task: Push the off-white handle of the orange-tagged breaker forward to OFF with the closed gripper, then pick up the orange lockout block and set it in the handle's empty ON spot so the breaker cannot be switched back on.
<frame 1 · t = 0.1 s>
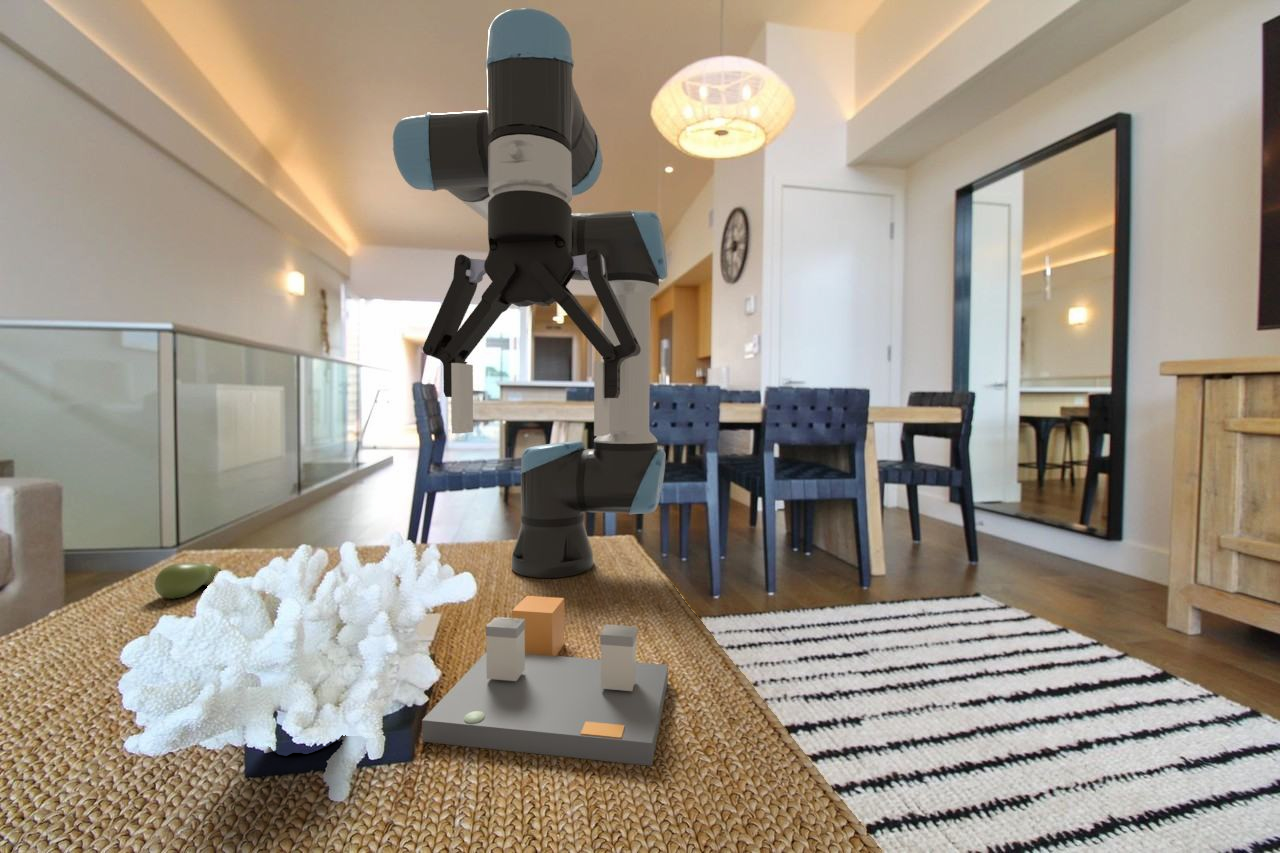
hand: (530, 434, 51), 28 cm above the table, tool pointing down, fingers open, 13 cm apart
lockout block: (539, 651, 68), on the table
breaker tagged: (618, 657, 55), point 5 cm above the table, slide at 0.0 cm
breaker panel: (557, 709, 55), on the table
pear: (191, 593, 88), on the table
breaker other: (505, 648, 57), point 5 cm above the table, slide at 0.0 cm
flower pot: (310, 739, 50), on the table
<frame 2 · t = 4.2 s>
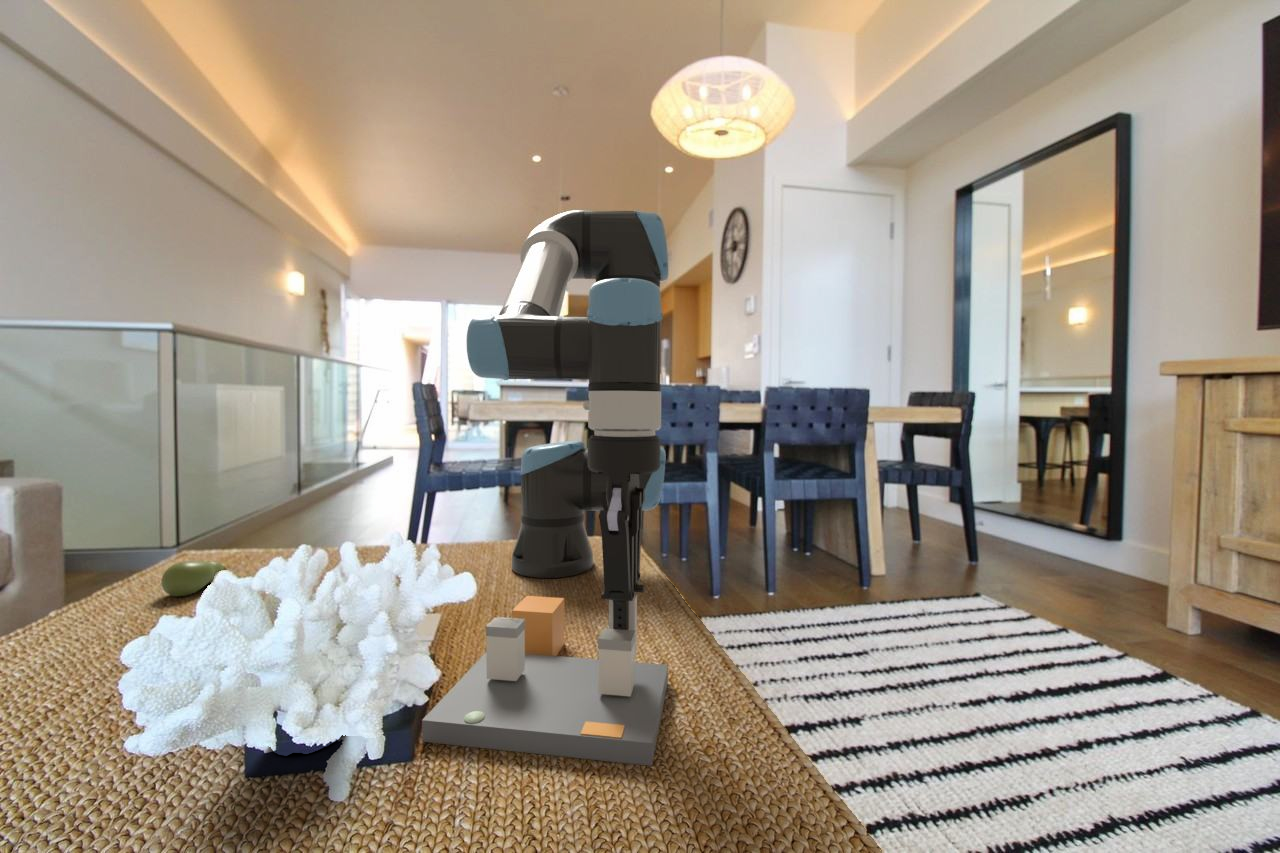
hand: (622, 657, 57), 4 cm above the table, tool pointing down, fingers closed
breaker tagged: (616, 661, 54), point 5 cm above the table, slide at 1.0 cm, touching gripper
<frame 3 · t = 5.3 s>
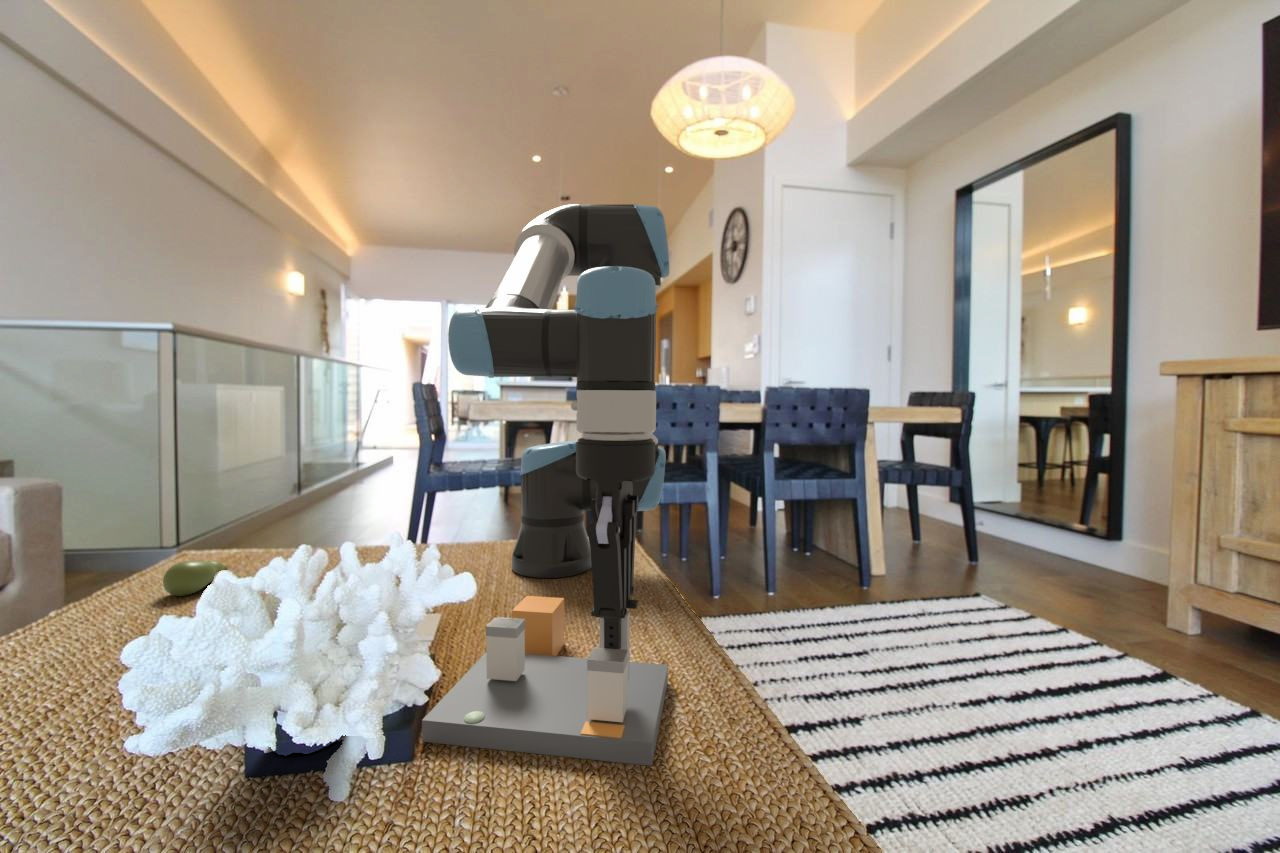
hand: (614, 678, 53), 4 cm above the table, tool pointing down, fingers closed
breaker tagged: (607, 683, 50), point 5 cm above the table, slide at 5.3 cm, touching gripper
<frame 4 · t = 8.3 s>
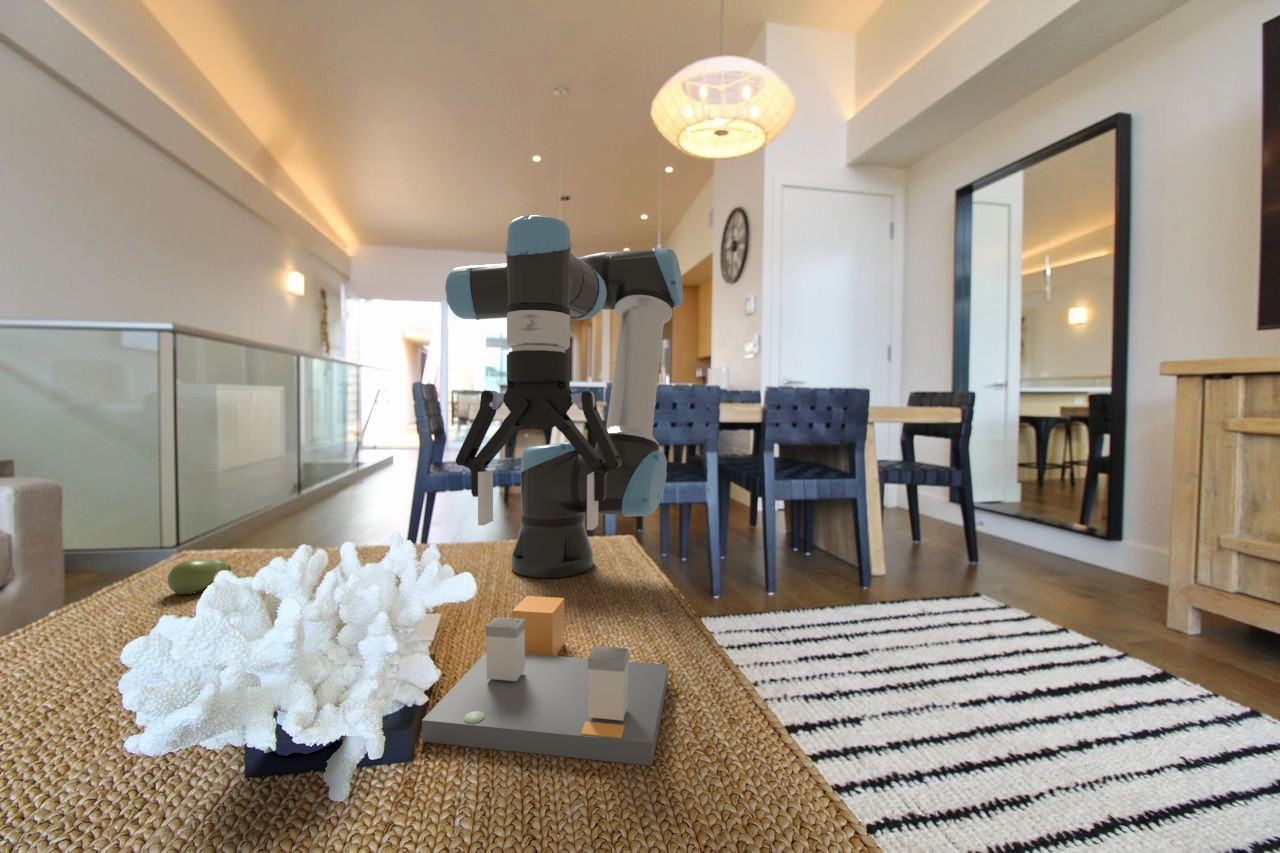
hand: (538, 525, 67), 16 cm above the table, tool pointing down, fingers open, 13 cm apart
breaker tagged: (608, 682, 50), point 5 cm above the table, slide at 5.1 cm
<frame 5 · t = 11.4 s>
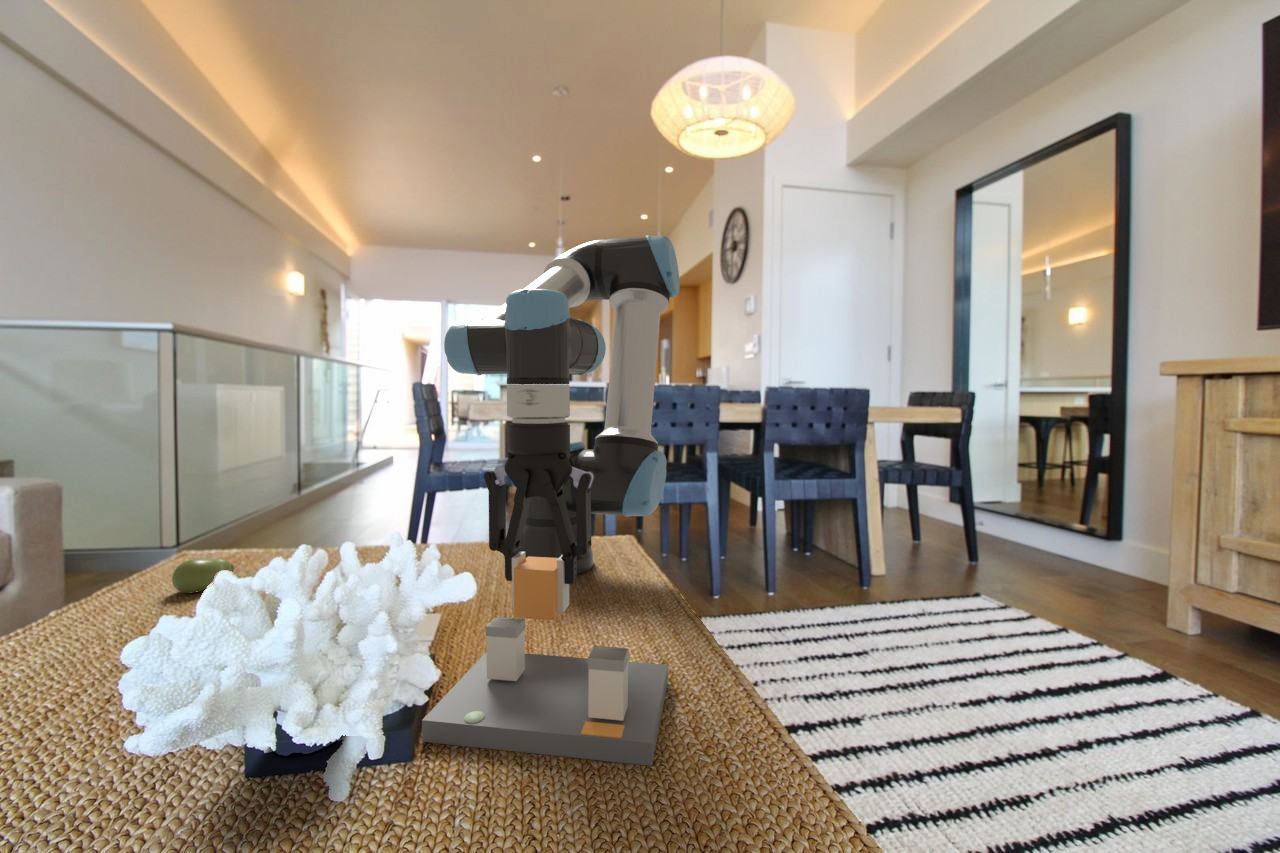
hand: (541, 606, 68), 5 cm above the table, tool pointing down, fingers closed on lockout block, 5 cm apart
lockout block: (540, 610, 68), point 5 cm above the table, touching gripper
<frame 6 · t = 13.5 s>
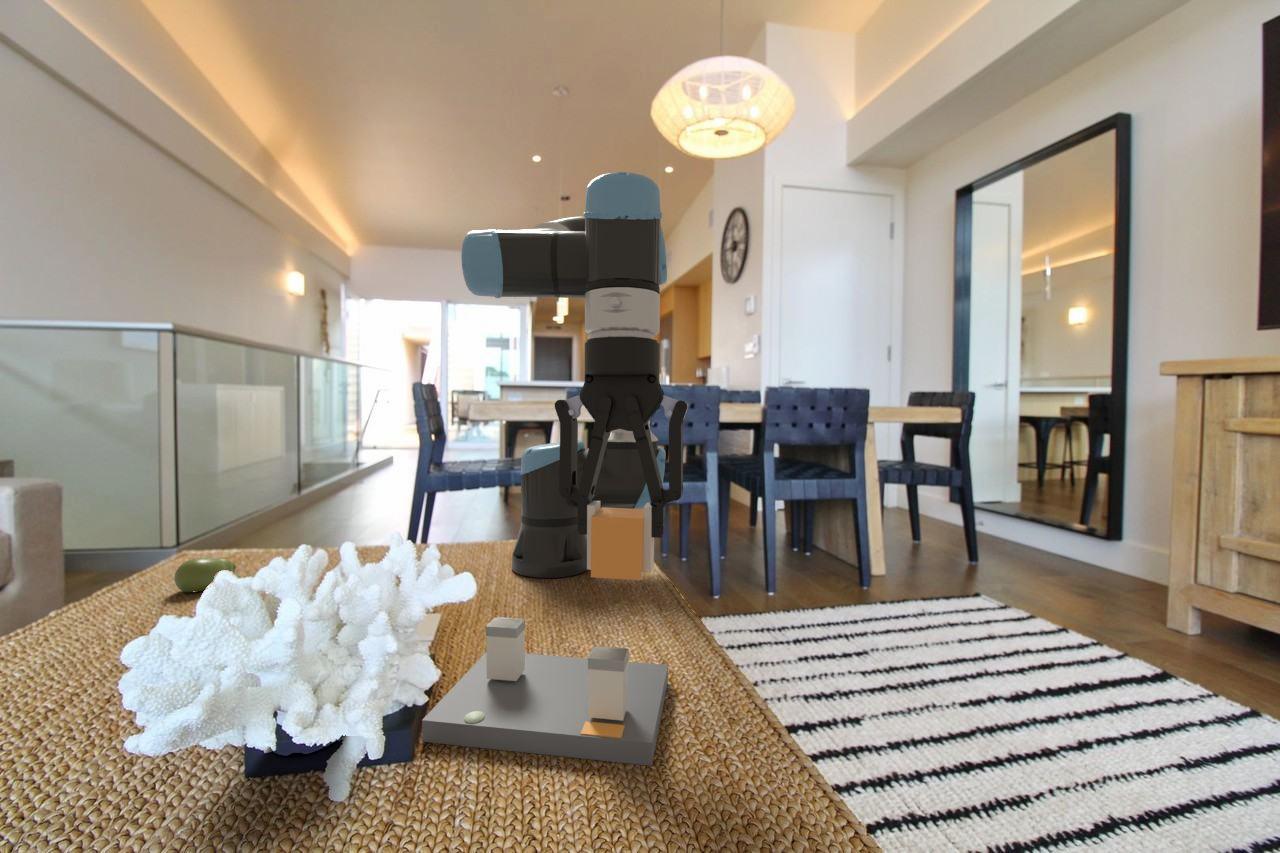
hand: (620, 566, 56), 14 cm above the table, tool pointing down, fingers closed on lockout block, 5 cm apart
lockout block: (620, 571, 56), point 14 cm above the table, touching gripper
when the fingers open (2 cm above the table, at t = 15.8 s): lockout block stays where it is, resting on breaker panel.
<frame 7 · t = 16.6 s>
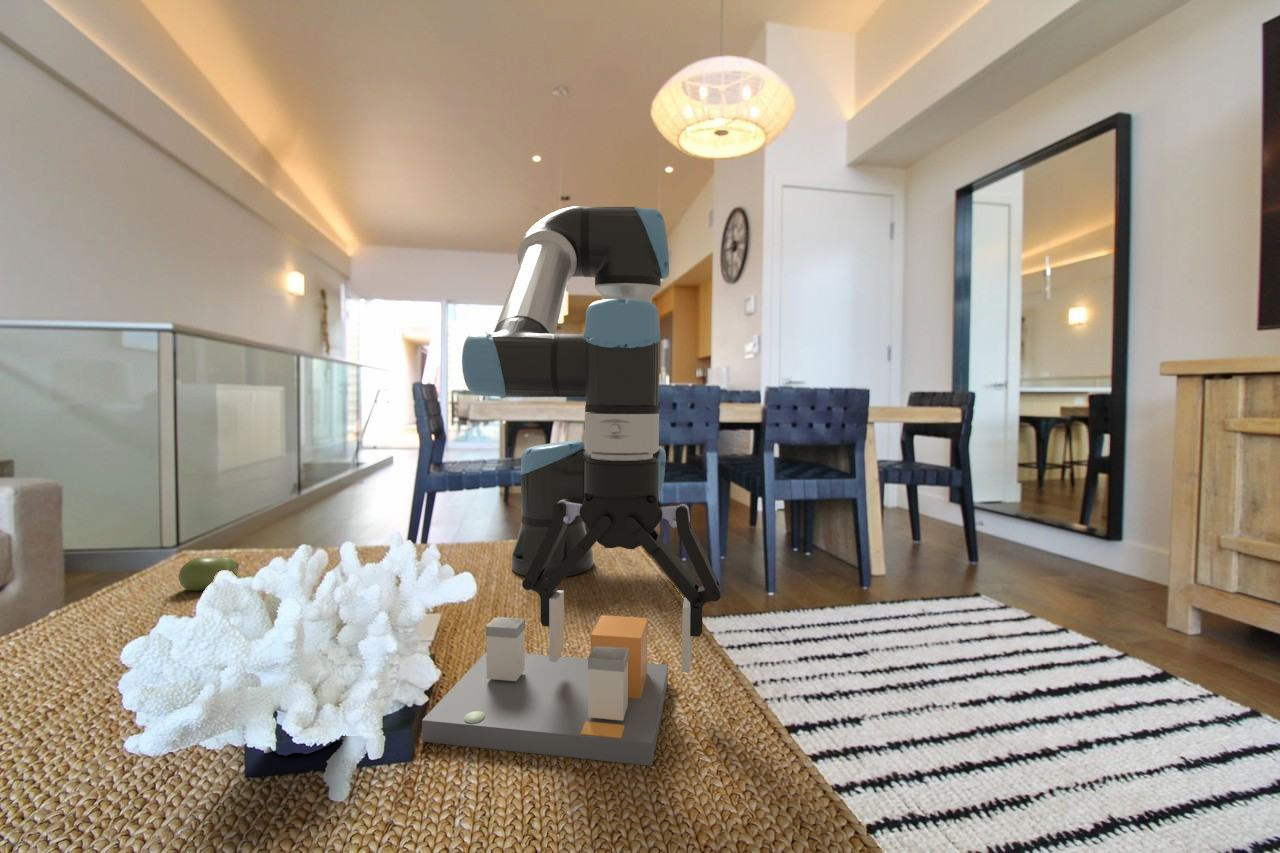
hand: (620, 661, 56), 4 cm above the table, tool pointing down, fingers open, 13 cm apart
lockout block: (619, 683, 56), point 2 cm above the table, touching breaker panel
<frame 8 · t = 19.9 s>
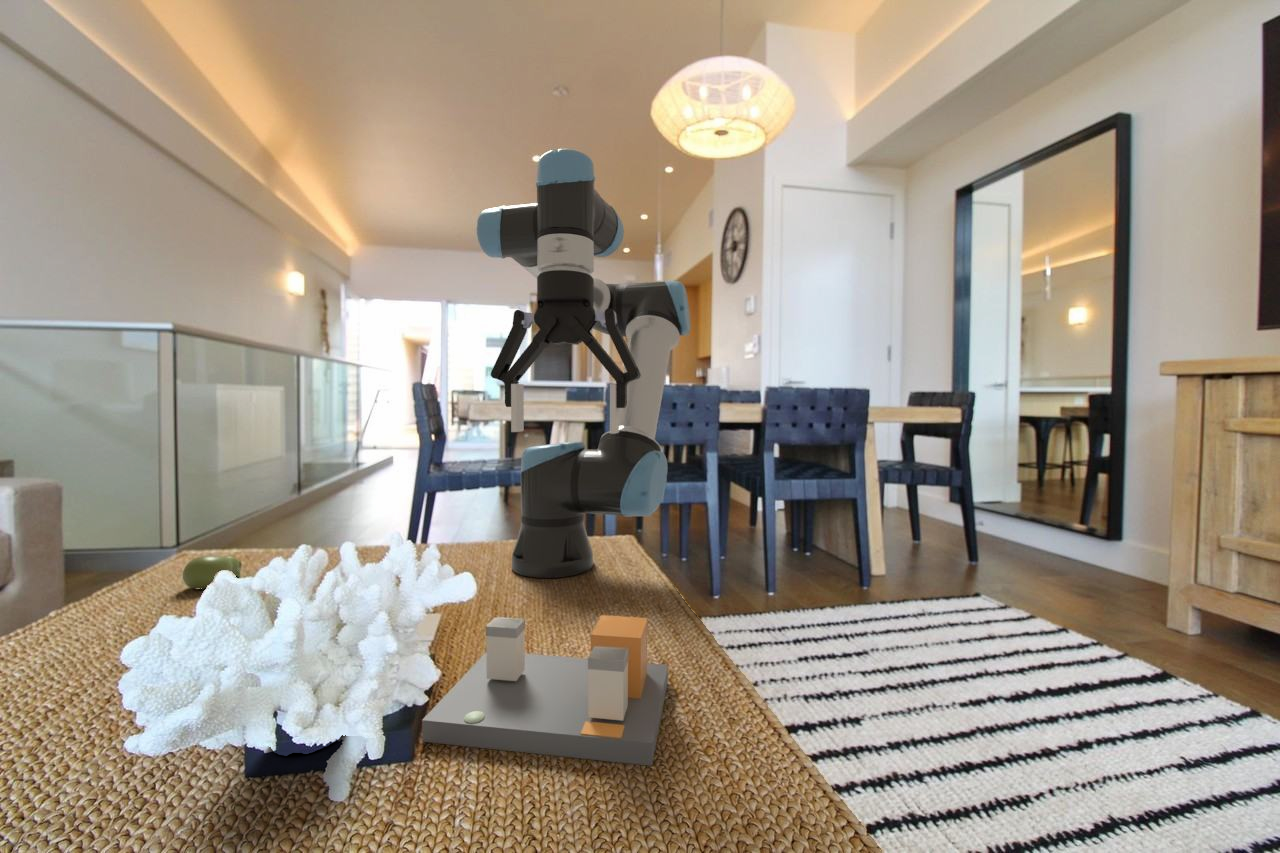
hand: (565, 432, 74), 27 cm above the table, tool pointing down, fingers open, 13 cm apart
at the end: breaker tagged slide at 5.1 cm; lockout block 0.3 cm from the target spot on the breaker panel, point 2.0 cm above the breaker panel's base; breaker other slide at 0.0 cm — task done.
